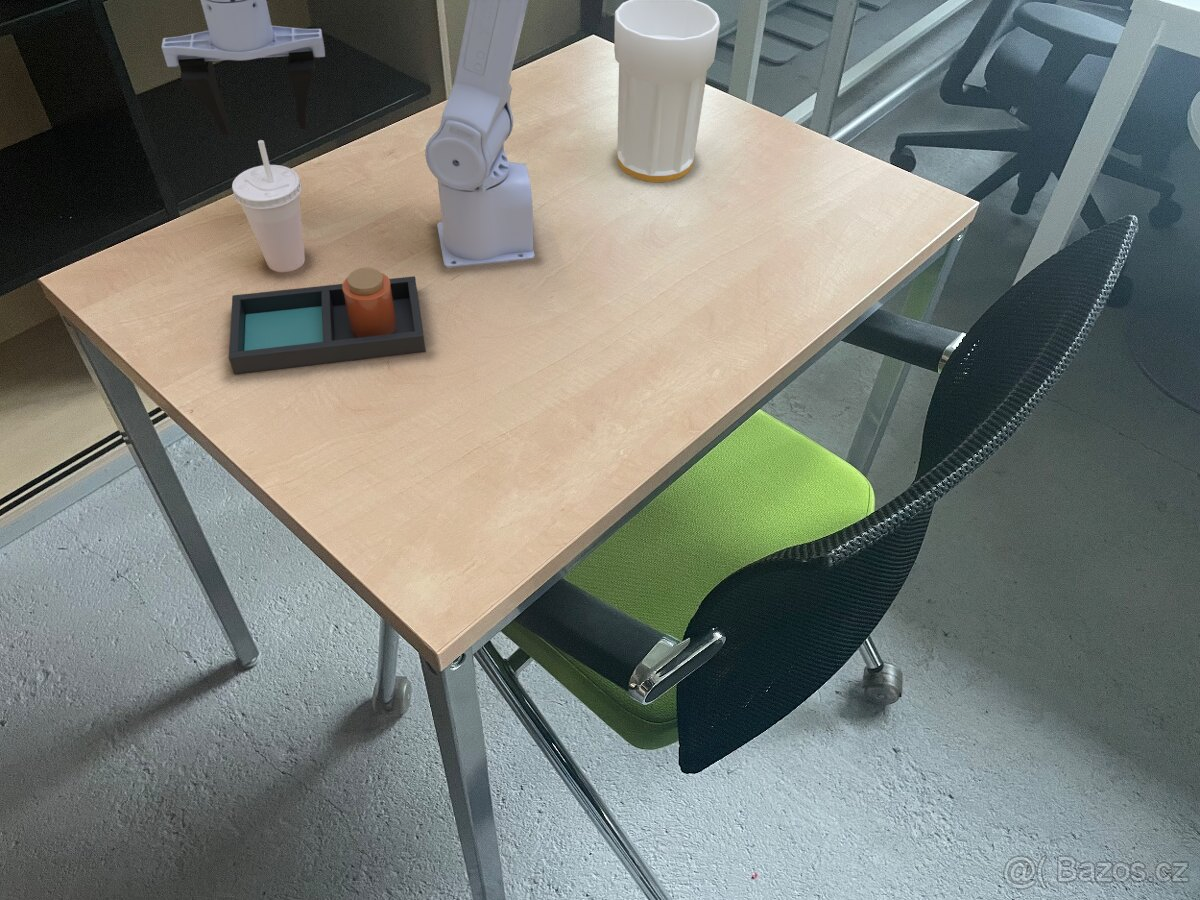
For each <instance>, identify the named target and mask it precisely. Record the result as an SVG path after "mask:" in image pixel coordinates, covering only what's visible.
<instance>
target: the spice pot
mask: <svg viewBox="0 0 1200 900" xmlns="http://www.w3.org/2000/svg"><path fill="white" fill-rule="evenodd" d="M389 279H390V277H388V276H387V275H386V274H384V273H383V272H381V271H380V270H379V269H377V268H374V267H361V268H357V269H355V270H353V271H351V272H350V273H349V275H348V276H347V277H346V278H345V279H344V281H343V283H342V284H343V285H342V289H343V294H344V299H345V304H346V309H347V313H348V318H349V323H350V328H351V332H352V333H353V335H354V336H356V337H357V338H360V337H369V336H377V335H386V334H392V333H393V332H394V331H395V330H396V327H397V321H396V315H395V308H394V302H393V296H392V290H391V283H390V280H389Z"/></svg>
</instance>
